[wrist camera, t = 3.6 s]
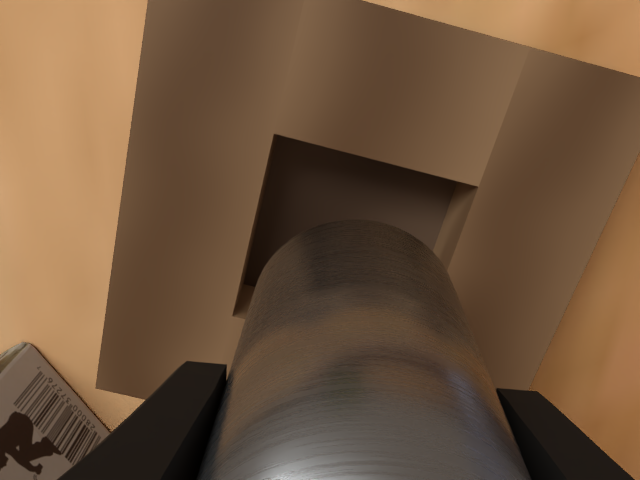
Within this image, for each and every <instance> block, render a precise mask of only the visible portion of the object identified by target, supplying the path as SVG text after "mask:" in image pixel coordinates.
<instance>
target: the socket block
mask: <svg viewBox="0 0 640 480" xmlns="http://www.w3.org/2000/svg"><path fill="white" fill-rule="evenodd" d="M639 152H640V77H637V76H633V75H629V74H626V73H622V72H619V71H615V70H611V69H608V68H604V67H601V66H597V65H593V64H590V63H586V62H582V61H579V60H575V59H572V58H568V57H564V56H561V55H557V54H554V53H550V52H546V51H543V50H539V49H535V48H532V47H528V46H525V45H521V44H517V43H514V42H510V41H507V40H503V39H499V38H496V37H492V36H488V35H485V34H481V33H478V32H474V31H470V30H467V29H463V28H460V27H456V26H452V25H449V24H445V23H441V22H438V21H434V20H431V19H427V18H423V17H420V16H416V15H413V14H409V13H405V12H402V11H398V10H395V9H391V8H387V7H384V6H380V5H376V4H373V3H369V2H366V1H362V0H148V4H147V12H146V19H145V26H144V34H143V41H142V48H141V56H140V63H139V71H138V78H137V85H136V93H135V100H134V107H133V115H132V122H131V130H130V137H129V144H128V152H127V159H126V166H125V174H124V181H123V189H122V196H121V203H120V211H119V218H118V225H117V233H116V240H115V247H114V255H113V262H112V270H111V277H110V284H109V292H108V299H107V306H106V314H105V321H104V329H103V336H102V343H101V351H100V358H99V365H98V373H97V380H96V388H97V389H101V390H105V391H110V392H114V393H119V394H123V395H127V396H132V397H136V398H141V399H145V400H146V399H147V398H148V397H149V396H150V395H151V394H152V393H153V392H154V391H155V390H156V389H157V388H158V387H159V386H160V385H161V384H162V383H163V382H164V381H165V380H166V379H167V378H168V377H169V376H170V375H171V374H172V373H173V372H174V371H175V370H176V369H177V368H178V367H179V366H181V365H182V364H183V363H185V362H186V361H194V362H205V363H217V364H227V378H228V374H229V371H230V368H231V365H232V361H233V358H234V355H235V352H236V348H237V345H238V342H239V339H240V335H241V332H242V329H243V326H244V322H245V319H246V316H247V312H248V309H249V306H250V303H251V299H252V296H253V293H254V290H255V287H256V284H257V281H258V278H259V276H260V274H261V272H262V271H263V269H264V267H265V265H266V264H267V263H268V261H269V260H270V258H271V257H272V256H273V255H274V254H275V253H276V252H277V251H278V250H279V249H280V248H281V247H282V246H283V245H284V244H285V243H287V242H288V241H289V240H290V239H292V238H293V237H295V236H297V235H298V234H300V233H302V232H304V231H306V230H308V229H311V228H313V227H315V226H318V225H322V224H325V223H329V222H334V221H340V220H357V219H359V220H370V221H376V222H380V223H385V224H388V225H391V226H394V227H397V228H399V229H401V230H403V231H405V232H407V233H409V234H411V235H413V236H414V237H416V238H417V239H419V240H420V241H422V242H423V243H424V244H425V245H426V246H427V247H429V248H430V249H431V250H432V251H433V252H434V253H435V255H436V256H437V257H438V258H439V259H440V261H441V262H442V264H443V265H444V267H445V269H446V270H447V272H448V274H449V276H450V279H451V281H452V283H453V286H454V288H455V291H456V293H457V296H458V298H459V301H460V303H461V306H462V308H463V311H464V313H465V315H466V318H467V320H468V323H469V325H470V328H471V330H472V333H473V335H474V338H475V340H476V343H477V345H478V348H479V350H480V353H481V355H482V358H483V360H484V363H485V365H486V368H487V370H488V373H489V375H490V378H491V380H492V383H493V385H494V388H495V390H496V389H497V388H503V389H515V390H526V391H528V390H529V387H530V385H531V383H532V381H533V379H534V377H535V375H536V372H537V370H538V368H539V366H540V364H541V362H542V360H543V357H544V355H545V353H546V351H547V349H548V347H549V345H550V342H551V340H552V338H553V336H554V334H555V332H556V330H557V328H558V325H559V323H560V321H561V319H562V317H563V315H564V313H565V310H566V308H567V306H568V304H569V302H570V300H571V298H572V295H573V293H574V291H575V289H576V287H577V285H578V283H579V280H580V278H581V276H582V274H583V272H584V270H585V268H586V265H587V263H588V261H589V259H590V257H591V255H592V253H593V250H594V248H595V246H596V244H597V242H598V240H599V238H600V235H601V233H602V231H603V229H604V227H605V225H606V223H607V221H608V218H609V216H610V214H611V212H612V210H613V208H614V206H615V203H616V201H617V199H618V197H619V195H620V193H621V191H622V188H623V186H624V184H625V182H626V180H627V178H628V176H629V173H630V171H631V169H632V167H633V165H634V163H635V161H636V158H637V156H638V154H639ZM226 381H227V379H226Z"/></svg>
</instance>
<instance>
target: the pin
mask: <svg viewBox="0 0 640 480" xmlns="http://www.w3.org/2000/svg"><path fill="white" fill-rule="evenodd" d="M196 480H532V479H531V477H530V475H529V472H528V470H527V467H526V465H525V462H524V460H523V457H522V455H521V452H520V450H519V447H518V445H517V442H516V440H515V437H514V435H513V432H512V430H511V427H510V425H509V422H508V420H507V417H506V415H505V412H504V410H503V407H502V405H501V402H500V400H499V397H498V395H497V393H496V390H495V388H494V385H493V383H492V380H491V378H490V375H489V373H488V370H487V368H486V365H485V363H484V360H483V358H482V355H481V353H480V350H479V348H478V345H477V343H476V340H475V338H474V335H473V333H472V330H471V328H470V325H469V323H468V320H467V318H466V315H465V313H464V311H463V308H462V306H461V303H460V301H459V298H458V296H457V293H456V291H455V288H454V286H453V283H452V281H451V279H450V276H449V274H448V272H447V270H446V269H445V267H444V265H443V264H442V262H441V261H440V259H439V258H438V257H437V256H436V255H435V253H434V252H433V251H432V250H431V249H430V248H429V247H427V246H426V245H425V244H424V243H423V242H422V241H420V240H419V239H417V238H416V237H414V236H413V235H411V234H409V233H407V232H405V231H403V230H401V229H399V228H397V227H394V226H391V225H388V224H385V223H380V222H376V221H370V220H359V219H357V220H340V221H334V222H329V223H325V224H322V225H318V226H315V227H313V228H311V229H308V230H306V231H304V232H302V233H300V234H298V235H297V236H295V237H293V238H292V239H290V240H289V241H288V242H287V243H285V244H284V245H283V246H282V247H281V248H280V249H279V250H278V251H277V252H276V253H275V254H274V255H273V256H272V257H271V258H270V260H269V261H268V263H267V264H266V265H265V267H264V269H263V271H262V272H261V274H260V276H259V278H258V281H257V284H256V287H255V290H254V293H253V296H252V299H251V303H250V306H249V309H248V312H247V316H246V319H245V322H244V326H243V329H242V332H241V335H240V339H239V342H238V345H237V348H236V352H235V355H234V358H233V361H232V365H231V368H230V371H229V374H228V378H227V381H226V384H225V387H224V391H223V394H222V397H221V400H220V404H219V407H218V410H217V413H216V417H215V420H214V423H213V426H212V430H211V433H210V436H209V440H208V443H207V446H206V449H205V453H204V456H203V459H202V462H201V466H200V469H199V472H198V475H197V479H196Z"/></svg>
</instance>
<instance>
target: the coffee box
mask: <svg viewBox="0 0 640 480" xmlns="http://www.w3.org/2000/svg"><path fill="white" fill-rule="evenodd" d="M109 434H110V432H109V431H108V430H107V429H106V428H105V426H104V425H103V424H102V423H101V422H100V421H99V420H98V419H97V417H96V416H95V415H94V414H93V413H92V412H91V411H90V409H89V408H88V407H87V406H86V405H85V404H84V403H83V402H82V400H81V399H80V398H79V397H78V396H77V395H76V394H75V393H74V391H73V390H72V389H71V388H70V387H69V386H68V385H67V384H66V382H65V381H64V380H63V379H62V378H61V377H60V376H59V375H58V373H57V372H56V371H55V370H54V369H53V368H52V367H51V366H50V364H49V363H48V362H47V361H46V360H45V359H44V358H43V357H42V356H41V354H40V353H39V352H38V351H37V350H36V349H35V348H34V347H33V346H32V345H31V344H30V343H25V342H23V343H19V344H18V345H16V346H14V347H12V348H10V349H8V350H7V351H5V352H3V353H2V354H0V480H57V479H58V478H59V477H60V476H62V475H63V474H64V473H65V472H66V471H68V470H69V469H70V468H71V467H72V466H74V465H75V464H76V463H77V462H79V461H80V460H81V459H82V458H83V457H85V456H86V455H87V454H88V453H89V452H90V451H91V450H93V449H94V448H95V447H96V446H97V445H98V444H99V443H100V442H101V441H102V440H104V439H105V438H106V437H107V436H108V435H109Z"/></svg>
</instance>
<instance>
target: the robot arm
mask: <svg viewBox="0 0 640 480" xmlns="http://www.w3.org/2000/svg"><path fill="white" fill-rule="evenodd" d="M226 379H227V364H217V363H205V362H194V361H186V362H185V363H183V364H182V365H181V366H179V367H178V368H177V369H176V370H175V371H174V372H173V373H172V374H171V375H170V376H169V377H168V378H167V379H166V380H165V381H164V382H163V383H162V384H161V385H160V386H159V387H158V388H157V389H156V390H155V391H154V392H153V393H152V394H151V395H150V396H149V397H148V398H147V399H146V400H145V401H144V402H143V403H142V404H141V405H140V406H139V407H138V408H137V409H136V410H135V411H134V412H133V413H132V414H131V415H130V416H129V417H128V418H127V419H125V420H124V421H123V422H122V423H121V424H120V425H119V426H118V427H117V428H116V429H115V430H113V431H112V432H111V433H110V434H109V435H108V436H107V437H106V438H105V439H104V440H102V441H101V442H100V443H99V444H98V445H97V446H96V447H95V448H94V449H93V450H91V451H90V452H89V453H88V454H87V455H86V456H85V457H83V458H82V459H81V460H80V461H79V462H77V463H76V464H75V465H74V466H72V467H71V468H70V469H69V470H68V471H66V472H65V473H64V474H63V475H62V476H60V477H59V478H58V479H57V480H196V479H197V475H198V472H199V469H200V466H201V462H202V459H203V456H204V453H205V449H206V446H207V443H208V440H209V436H210V433H211V430H212V426H213V423H214V420H215V417H216V413H217V410H218V407H219V404H220V400H221V397H222V394H223V391H224V387H225V384H226ZM496 393H497V395H498V397H499V400H500V402H501V405H502V407H503V410H504V412H505V415H506V417H507V420H508V422H509V425H510V427H511V430H512V432H513V435H514V437H515V440H516V442H517V445H518V447H519V450H520V452H521V455H522V457H523V460H524V462H525V465H526V467H527V470H528V472H529V475H530V477H531V479H532V480H634V479H633V478H632V477H631V476H630V475H629V474H628V473H627V472H625V471H624V470H623V469H622V468H621V467H620V466H619V465H618V464H617V463H616V462H614V461H613V460H612V459H611V458H610V457H609V456H608V455H607V454H606V453H605V452H604V451H603V450H601V449H600V448H599V447H598V446H597V445H596V444H595V443H594V442H593V441H592V440H591V439H590V438H589V437H587V436H586V435H585V434H584V433H583V432H582V431H581V430H580V429H579V428H578V427H577V426H576V425H575V424H573V423H572V422H571V421H570V420H569V419H568V418H567V417H566V416H565V415H564V414H563V413H562V412H560V411H559V410H558V409H557V408H556V407H555V406H554V405H553V404H552V403H550V402H549V401H548V400H547V399H546V398H545V397H543V396H542V395H541V394H540V393H539V392H537V391H526V390H515V389H503V388H497V389H496Z"/></svg>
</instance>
